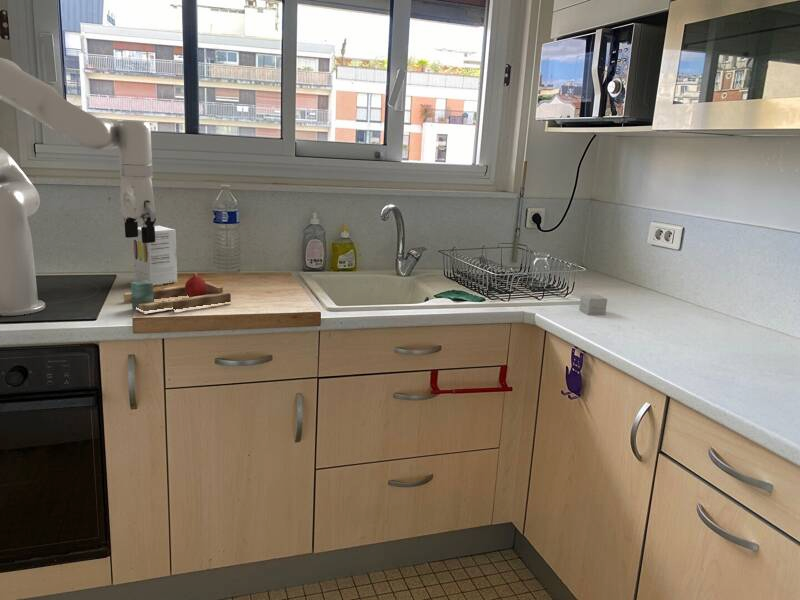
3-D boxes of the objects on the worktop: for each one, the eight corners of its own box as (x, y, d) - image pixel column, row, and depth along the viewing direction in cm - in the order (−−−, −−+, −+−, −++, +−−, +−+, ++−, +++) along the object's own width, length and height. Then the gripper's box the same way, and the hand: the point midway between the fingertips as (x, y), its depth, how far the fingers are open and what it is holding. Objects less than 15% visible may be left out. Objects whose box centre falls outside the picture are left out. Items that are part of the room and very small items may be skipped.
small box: (605, 315, 187) (608, 298, 186) (587, 315, 186) (589, 298, 184) (596, 310, 192) (598, 293, 191) (578, 310, 191) (580, 294, 190)
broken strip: (126, 303, 175) (125, 294, 175) (124, 302, 176) (123, 293, 176) (198, 292, 190) (198, 284, 189) (195, 291, 191) (195, 283, 190)
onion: (184, 299, 182) (183, 271, 180) (205, 298, 185) (204, 270, 183) (186, 304, 177) (185, 275, 175) (208, 303, 179) (207, 274, 178)
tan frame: (145, 314, 165) (143, 287, 163) (129, 306, 172) (127, 280, 170) (224, 301, 181) (223, 277, 179) (207, 295, 187) (206, 271, 185)
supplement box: (134, 281, 199) (131, 227, 195) (161, 277, 206) (159, 224, 202) (150, 287, 194) (147, 231, 189) (178, 283, 200) (176, 228, 196)
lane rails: (175, 313, 168) (175, 302, 168) (151, 301, 178) (151, 291, 177) (230, 304, 179) (230, 293, 179) (205, 293, 189) (204, 283, 188)
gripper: (107, 169, 165) (111, 236, 169) (136, 174, 154) (140, 246, 158) (136, 169, 171) (139, 234, 175) (167, 174, 159) (170, 243, 163)
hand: (140, 239), depth 166 cm, fingers open, 9 cm apart
